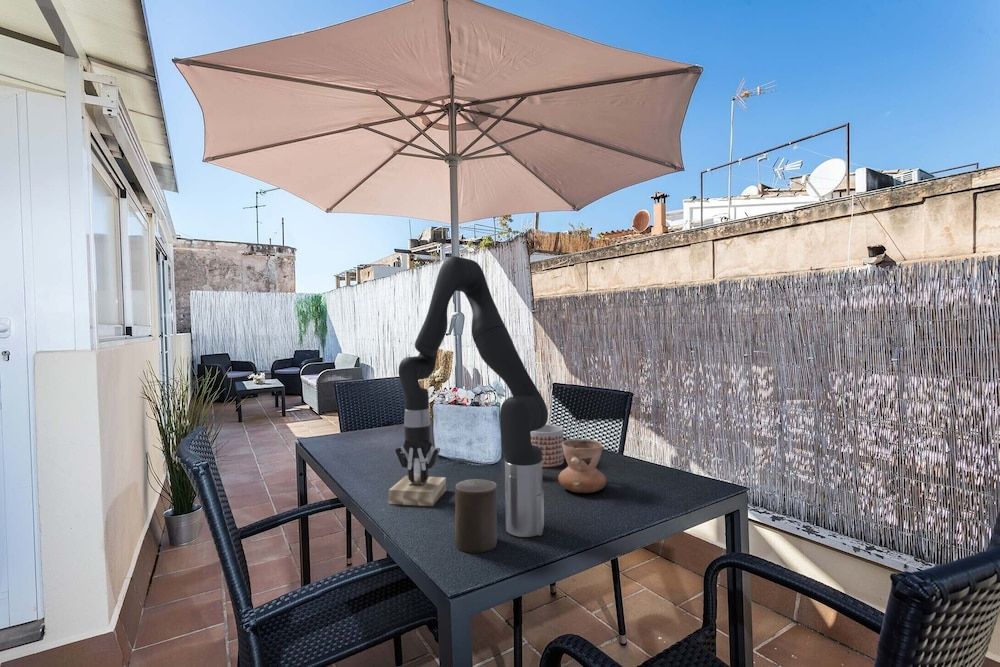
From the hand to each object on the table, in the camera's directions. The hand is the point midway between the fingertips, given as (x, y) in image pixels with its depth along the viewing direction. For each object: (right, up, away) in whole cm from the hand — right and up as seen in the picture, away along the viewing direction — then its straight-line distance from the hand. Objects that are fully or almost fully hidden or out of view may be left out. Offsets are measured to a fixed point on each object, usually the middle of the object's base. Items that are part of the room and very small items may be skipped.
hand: (418, 481), depth 142 cm
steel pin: (0, -3, 0) cm, 3 cm away
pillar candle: (+19, -5, -31) cm, 36 cm away
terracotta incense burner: (+50, -4, +5) cm, 50 cm away
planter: (+41, -4, +33) cm, 53 cm away
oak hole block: (0, -5, 0) cm, 5 cm away
